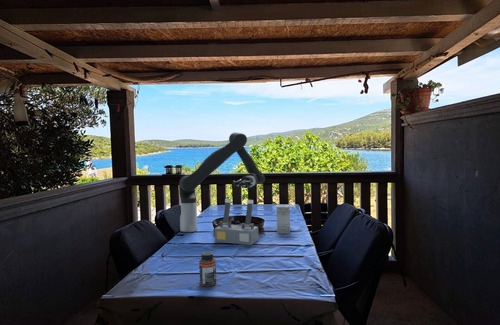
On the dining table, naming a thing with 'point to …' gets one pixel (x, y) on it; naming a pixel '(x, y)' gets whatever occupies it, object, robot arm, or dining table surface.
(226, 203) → the lever with pale knob
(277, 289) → the dining table surface
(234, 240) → the switch box
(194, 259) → the dining table surface
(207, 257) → the supplement bottle
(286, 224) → the circuit breaker
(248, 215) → the lever grey
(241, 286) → the dining table surface
